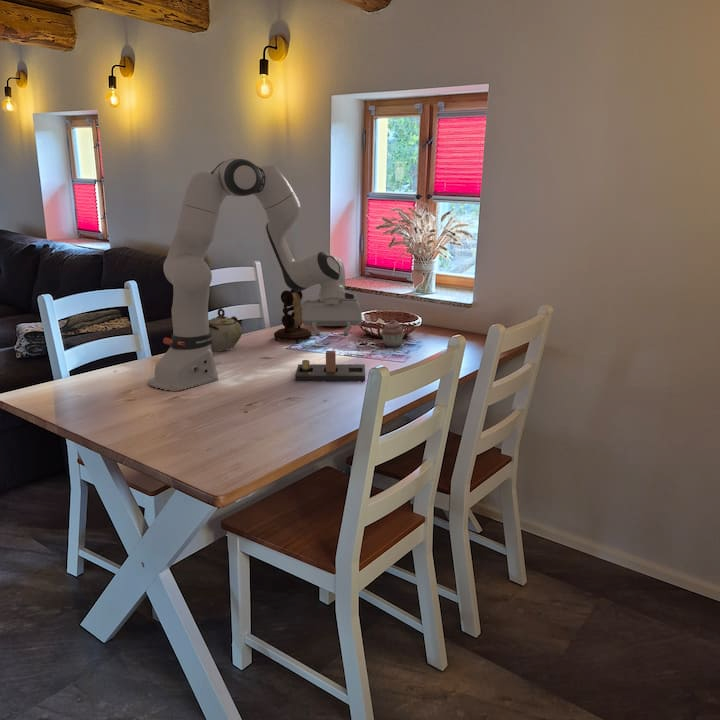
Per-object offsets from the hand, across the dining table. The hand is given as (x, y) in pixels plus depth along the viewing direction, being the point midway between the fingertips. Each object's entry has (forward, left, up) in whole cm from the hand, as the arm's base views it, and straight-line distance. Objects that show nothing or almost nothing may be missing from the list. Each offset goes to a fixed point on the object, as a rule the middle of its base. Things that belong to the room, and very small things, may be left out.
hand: (331, 335), depth 205 cm
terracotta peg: (-7, -4, -11) cm, 14 cm away
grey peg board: (-7, -4, -11) cm, 14 cm away
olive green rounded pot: (+1, +49, -12) cm, 50 cm away
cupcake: (+37, -4, -12) cm, 39 cm away
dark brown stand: (+25, +34, -12) cm, 43 cm away
